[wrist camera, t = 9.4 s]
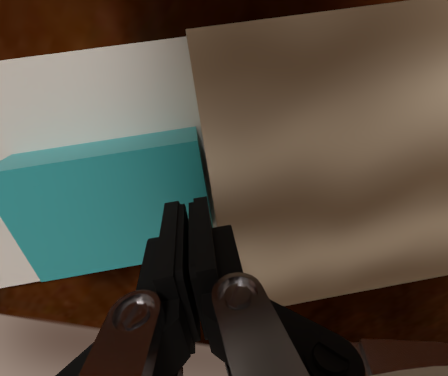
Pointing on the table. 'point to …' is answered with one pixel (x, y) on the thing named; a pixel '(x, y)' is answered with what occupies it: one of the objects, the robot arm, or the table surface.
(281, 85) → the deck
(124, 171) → the tile
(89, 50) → the mat
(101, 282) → the table surface
